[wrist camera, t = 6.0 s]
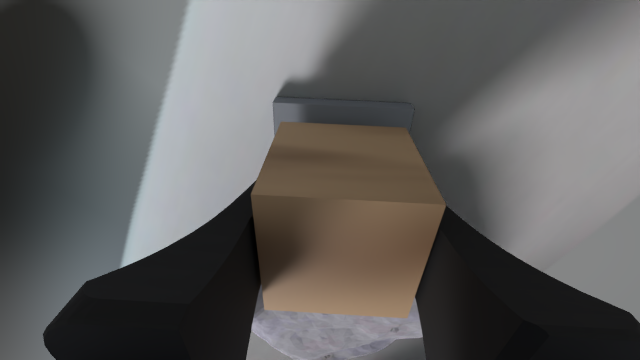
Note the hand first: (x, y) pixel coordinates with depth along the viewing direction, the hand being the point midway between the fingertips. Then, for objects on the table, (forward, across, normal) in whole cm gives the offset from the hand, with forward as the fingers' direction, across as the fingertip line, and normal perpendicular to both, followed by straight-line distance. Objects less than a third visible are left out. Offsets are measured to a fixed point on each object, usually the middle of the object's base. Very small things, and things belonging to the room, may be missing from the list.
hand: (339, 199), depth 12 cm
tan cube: (+2, 0, 0) cm, 2 cm away
